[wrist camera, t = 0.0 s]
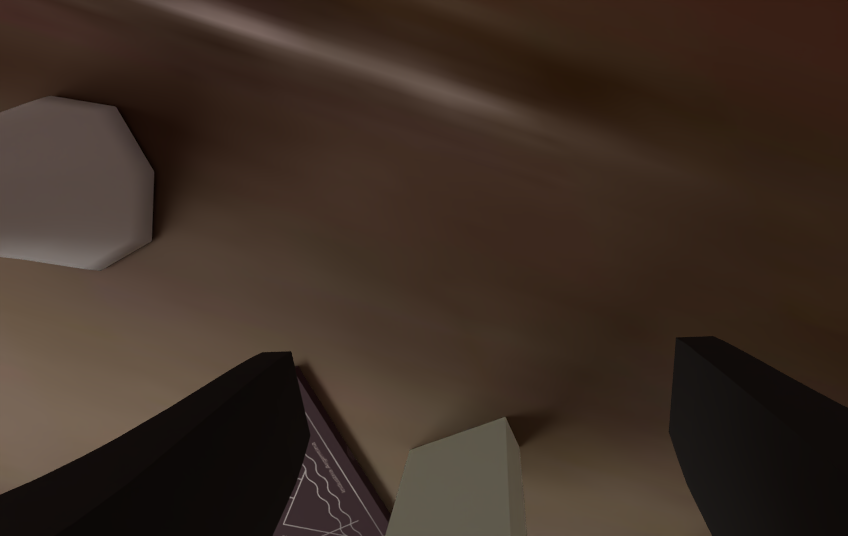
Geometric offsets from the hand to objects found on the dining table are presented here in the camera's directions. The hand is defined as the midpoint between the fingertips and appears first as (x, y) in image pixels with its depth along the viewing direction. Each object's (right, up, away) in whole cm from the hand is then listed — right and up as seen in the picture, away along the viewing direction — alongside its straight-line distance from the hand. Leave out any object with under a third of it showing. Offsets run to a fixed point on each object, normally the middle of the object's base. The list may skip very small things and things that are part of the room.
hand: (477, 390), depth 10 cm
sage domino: (+1, -5, +12) cm, 13 cm away
